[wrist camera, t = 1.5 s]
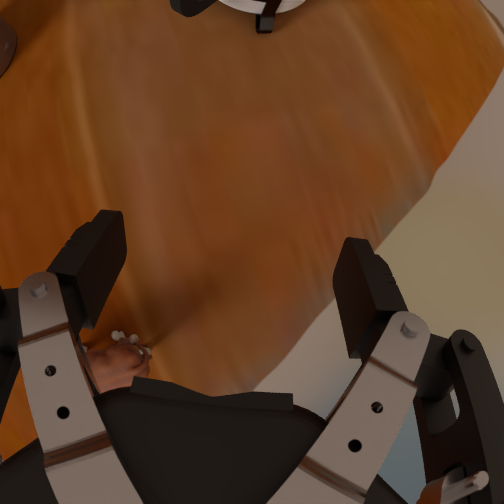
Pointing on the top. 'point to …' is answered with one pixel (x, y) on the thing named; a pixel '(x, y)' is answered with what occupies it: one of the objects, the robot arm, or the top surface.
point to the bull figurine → (119, 362)
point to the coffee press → (262, 3)
